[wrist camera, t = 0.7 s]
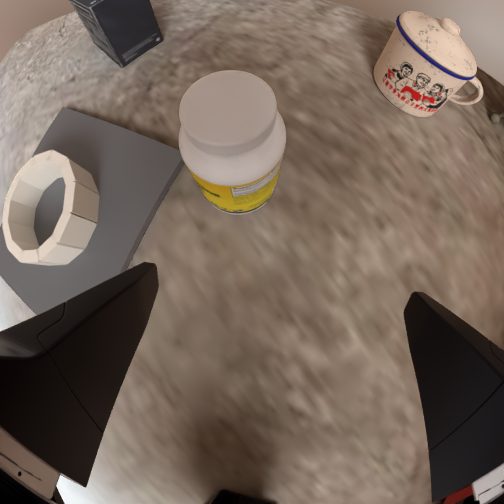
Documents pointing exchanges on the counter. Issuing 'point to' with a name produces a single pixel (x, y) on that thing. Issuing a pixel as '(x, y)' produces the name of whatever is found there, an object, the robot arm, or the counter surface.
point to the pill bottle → (232, 139)
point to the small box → (120, 27)
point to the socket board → (119, 206)
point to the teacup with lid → (426, 65)
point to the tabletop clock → (496, 117)
